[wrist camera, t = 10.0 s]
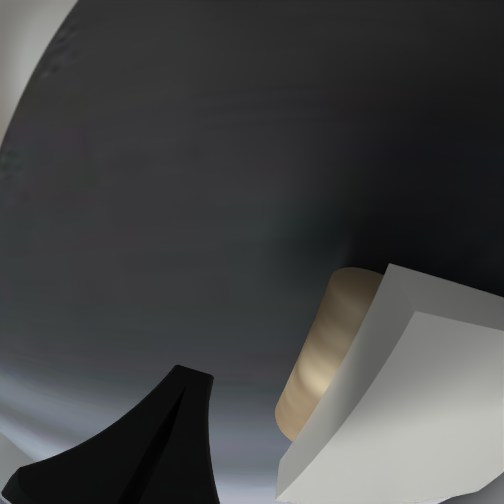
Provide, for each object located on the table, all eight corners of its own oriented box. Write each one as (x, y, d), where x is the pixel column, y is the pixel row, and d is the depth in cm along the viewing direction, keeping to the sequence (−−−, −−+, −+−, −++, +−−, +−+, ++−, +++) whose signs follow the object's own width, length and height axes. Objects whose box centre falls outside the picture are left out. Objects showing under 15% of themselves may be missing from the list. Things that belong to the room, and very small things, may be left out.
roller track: (535, 403, 15) (550, 434, 11) (278, 383, 16) (271, 441, 12) (586, 332, 12) (608, 360, 8) (326, 258, 13) (335, 312, 9)
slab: (470, 463, 13) (478, 490, 10) (279, 461, 13) (274, 500, 11) (585, 325, 8) (607, 352, 5) (389, 263, 8) (415, 310, 6)
